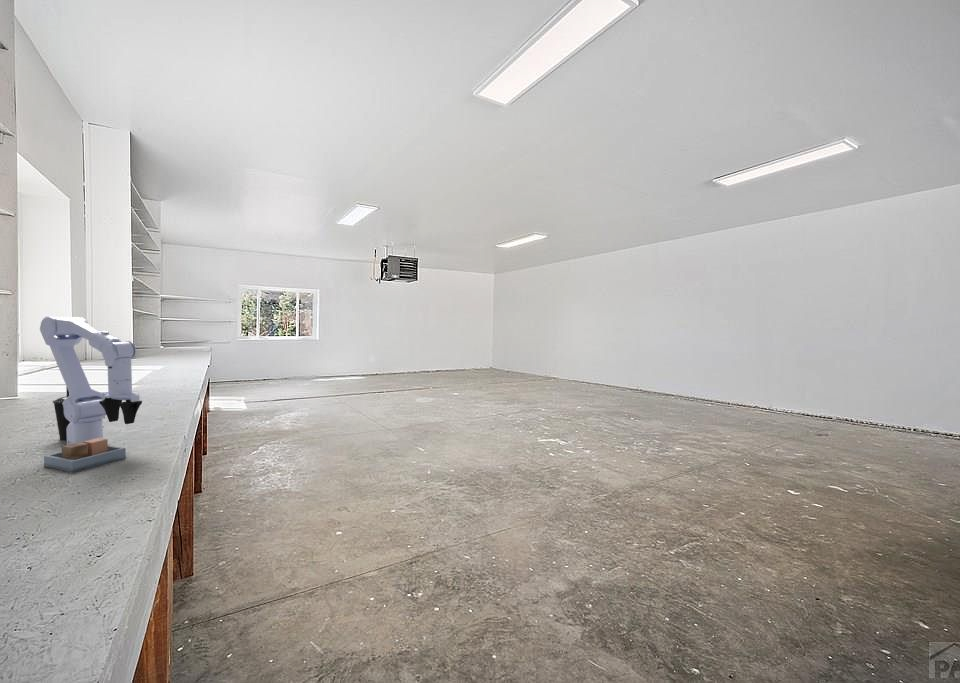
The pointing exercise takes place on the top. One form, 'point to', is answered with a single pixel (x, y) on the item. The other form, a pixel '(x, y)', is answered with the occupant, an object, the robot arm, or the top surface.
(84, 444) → the tan block
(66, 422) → the drinking cup
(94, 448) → the terracotta block
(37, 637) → the top surface
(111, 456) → the tray
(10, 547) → the top surface
